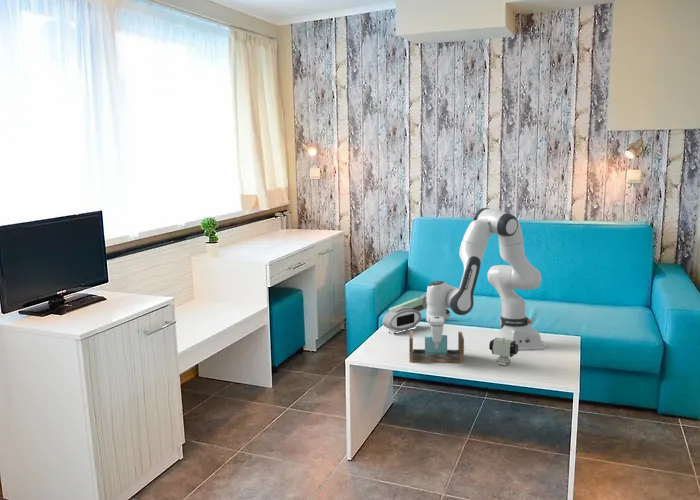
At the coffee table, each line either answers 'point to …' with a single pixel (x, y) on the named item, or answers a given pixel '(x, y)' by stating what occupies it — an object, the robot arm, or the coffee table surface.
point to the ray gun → (417, 305)
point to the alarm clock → (401, 319)
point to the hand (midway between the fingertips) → (436, 346)
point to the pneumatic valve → (503, 349)
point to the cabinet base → (450, 357)
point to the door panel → (430, 345)
